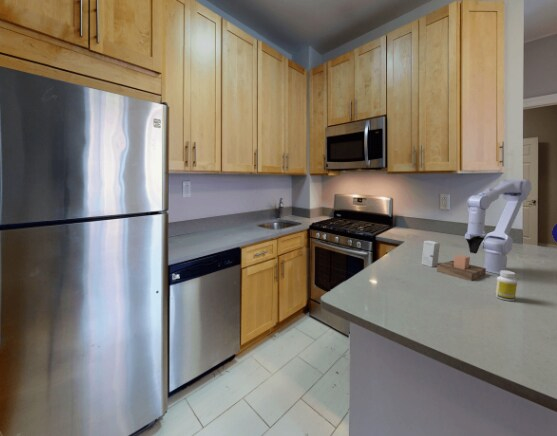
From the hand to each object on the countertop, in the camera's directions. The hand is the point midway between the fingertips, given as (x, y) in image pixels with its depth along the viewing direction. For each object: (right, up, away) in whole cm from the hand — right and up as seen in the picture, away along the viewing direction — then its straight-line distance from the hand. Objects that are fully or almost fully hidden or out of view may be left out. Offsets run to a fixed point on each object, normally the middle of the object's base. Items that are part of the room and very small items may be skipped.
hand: (473, 252), depth 115 cm
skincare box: (-10, -9, +16) cm, 21 cm away
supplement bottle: (-5, -14, -22) cm, 26 cm away
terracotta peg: (-3, -10, +4) cm, 11 cm away
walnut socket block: (-3, -10, +4) cm, 11 cm away
